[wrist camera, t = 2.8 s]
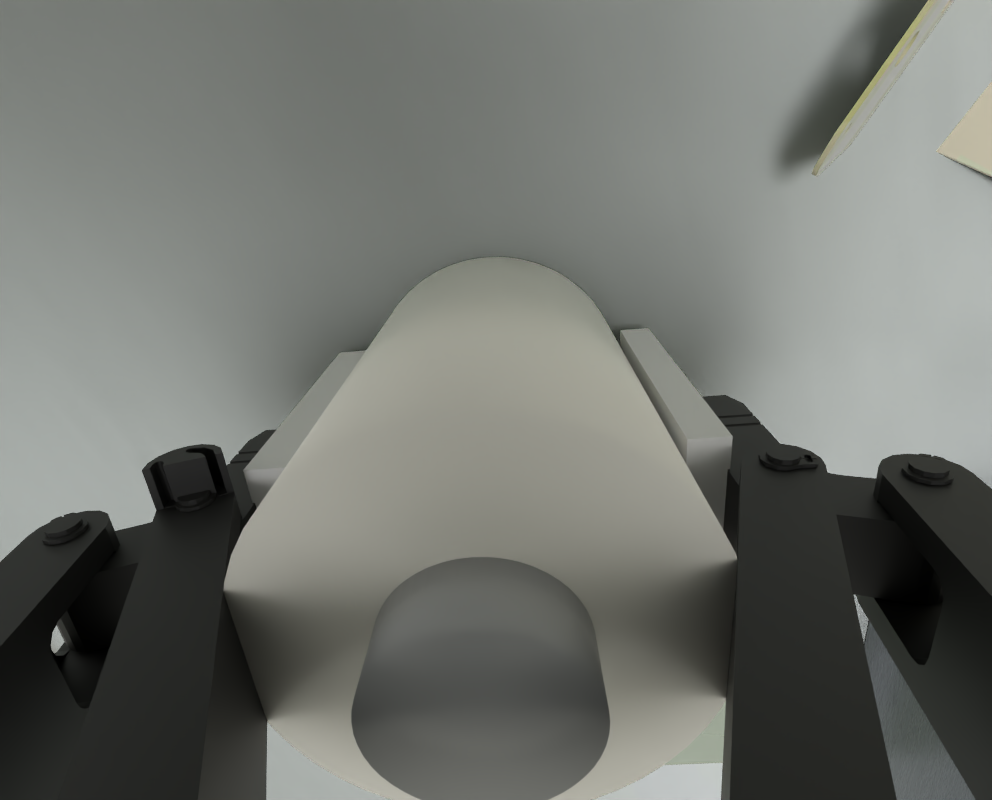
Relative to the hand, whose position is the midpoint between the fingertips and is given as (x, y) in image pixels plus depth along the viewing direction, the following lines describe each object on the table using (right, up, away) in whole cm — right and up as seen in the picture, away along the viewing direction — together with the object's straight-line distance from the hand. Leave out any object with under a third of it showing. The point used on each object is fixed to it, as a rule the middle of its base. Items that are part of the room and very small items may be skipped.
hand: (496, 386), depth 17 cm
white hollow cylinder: (0, 0, +1) cm, 1 cm away
